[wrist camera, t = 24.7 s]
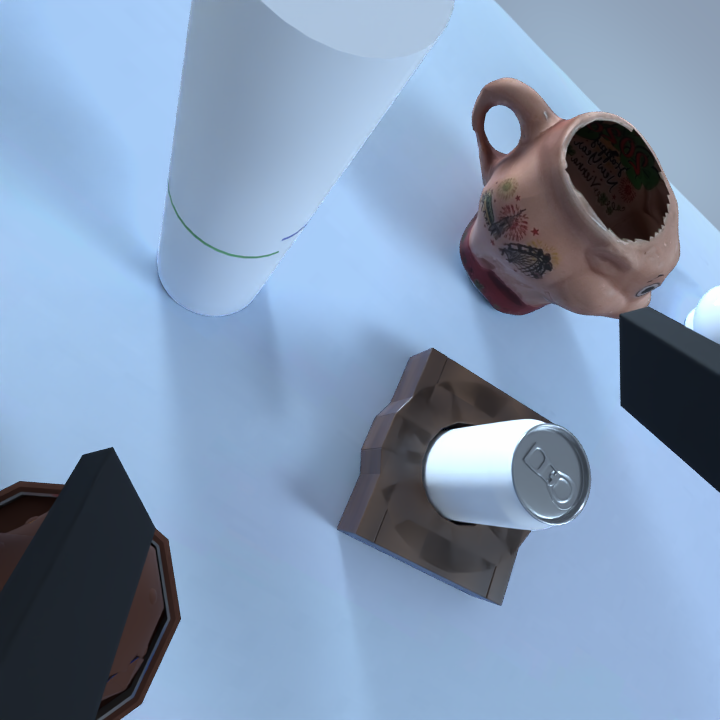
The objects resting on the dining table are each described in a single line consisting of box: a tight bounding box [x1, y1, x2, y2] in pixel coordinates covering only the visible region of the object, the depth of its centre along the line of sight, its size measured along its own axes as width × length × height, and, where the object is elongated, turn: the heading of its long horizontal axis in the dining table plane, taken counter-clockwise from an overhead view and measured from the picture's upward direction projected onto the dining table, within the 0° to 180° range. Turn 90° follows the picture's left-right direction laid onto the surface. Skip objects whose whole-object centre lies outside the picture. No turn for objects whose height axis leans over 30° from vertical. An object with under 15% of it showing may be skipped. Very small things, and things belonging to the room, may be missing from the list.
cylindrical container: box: [157, 0, 454, 317], centre depth 26 cm, size 7×7×25 cm
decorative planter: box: [460, 78, 680, 319], centre depth 41 cm, size 20×12×14 cm, turn 47°
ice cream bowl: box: [0, 481, 181, 720], centre depth 23 cm, size 11×11×15 cm
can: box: [422, 419, 591, 530], centre depth 35 cm, size 6×6×12 cm
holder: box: [337, 348, 554, 606], centre depth 39 cm, size 13×14×4 cm
